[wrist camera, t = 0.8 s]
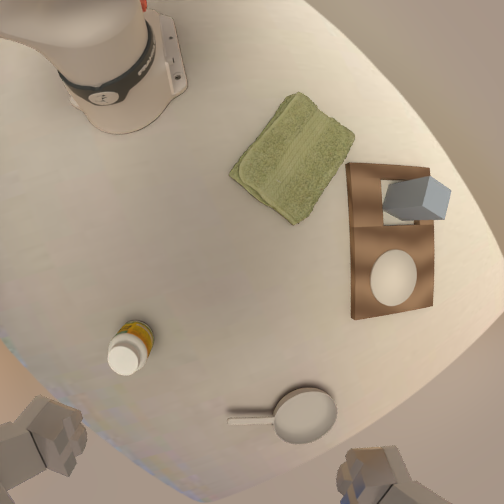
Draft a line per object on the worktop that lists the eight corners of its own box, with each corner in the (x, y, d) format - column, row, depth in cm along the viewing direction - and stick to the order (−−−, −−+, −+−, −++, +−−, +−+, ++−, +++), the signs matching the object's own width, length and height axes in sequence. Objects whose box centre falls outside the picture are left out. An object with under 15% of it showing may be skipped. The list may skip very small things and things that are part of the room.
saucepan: (324, 431, 50) (331, 442, 46) (223, 434, 48) (225, 447, 44) (335, 380, 50) (344, 390, 46) (227, 381, 47) (229, 392, 43)
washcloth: (223, 178, 45) (225, 174, 42) (290, 91, 45) (296, 83, 42) (297, 230, 47) (303, 231, 44) (356, 142, 47) (365, 137, 44)
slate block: (381, 209, 48) (422, 205, 37) (389, 184, 48) (429, 175, 37) (402, 220, 49) (444, 219, 38) (409, 196, 49) (451, 190, 38)
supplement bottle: (139, 360, 45) (126, 388, 35) (113, 336, 44) (94, 360, 34) (162, 336, 45) (152, 362, 35) (135, 312, 44) (118, 332, 35)
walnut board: (345, 164, 47) (349, 162, 45) (424, 169, 49) (429, 167, 48) (350, 317, 49) (355, 320, 47) (427, 304, 51) (432, 306, 49)
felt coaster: (369, 251, 47) (371, 251, 46) (414, 247, 48) (416, 248, 47) (369, 308, 47) (371, 309, 47) (413, 301, 49) (415, 302, 48)
